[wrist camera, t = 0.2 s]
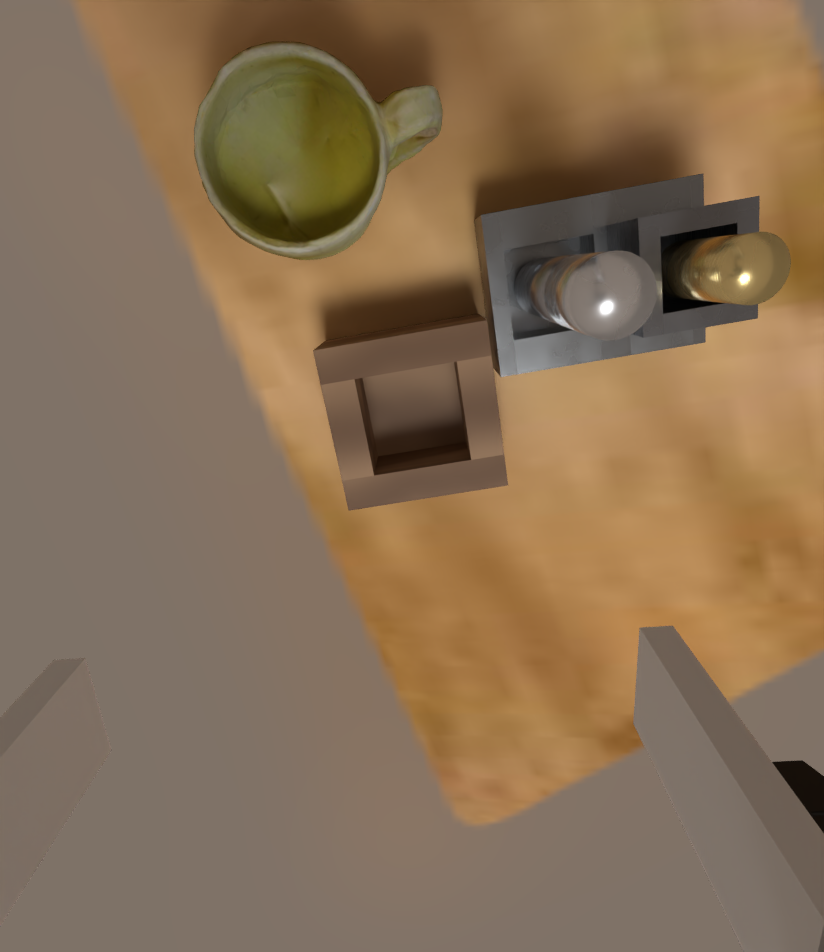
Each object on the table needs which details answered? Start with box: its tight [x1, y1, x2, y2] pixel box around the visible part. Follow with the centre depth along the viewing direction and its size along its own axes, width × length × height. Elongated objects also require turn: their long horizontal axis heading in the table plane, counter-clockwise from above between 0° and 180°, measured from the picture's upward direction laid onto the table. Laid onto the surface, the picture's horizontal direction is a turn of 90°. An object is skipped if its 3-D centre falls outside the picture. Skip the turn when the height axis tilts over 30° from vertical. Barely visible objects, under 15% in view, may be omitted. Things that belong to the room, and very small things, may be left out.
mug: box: [194, 42, 443, 260], centre depth 32 cm, size 12×10×10 cm
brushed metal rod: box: [514, 251, 657, 341], centre depth 30 cm, size 3×3×14 cm
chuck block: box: [474, 174, 759, 377], centre depth 33 cm, size 9×12×9 cm
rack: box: [313, 314, 508, 510], centre depth 38 cm, size 10×10×5 cm
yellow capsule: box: [661, 232, 791, 305], centre depth 27 cm, size 3×3×7 cm
